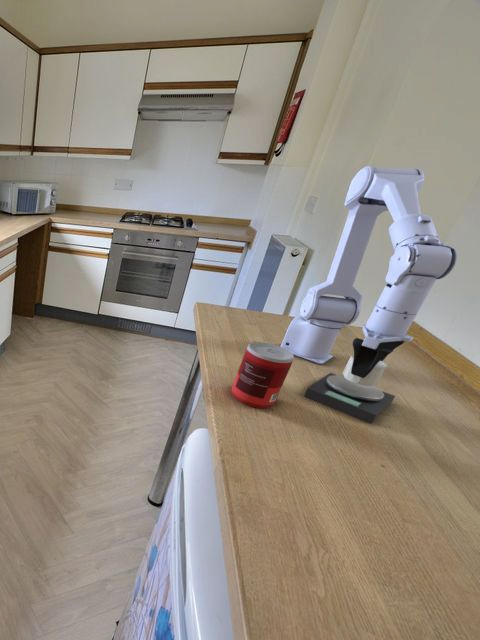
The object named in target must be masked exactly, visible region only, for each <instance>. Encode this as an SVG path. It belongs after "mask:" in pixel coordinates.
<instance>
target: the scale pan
mask: <svg viewBox="0 0 480 640" xmlns="http://www.w3.org/2000/svg"><path fill="white" fill-rule="evenodd" d="M326 382H327V384H328V385H329V386H331V387H332V388H334V389H335V390H337V391H339V392H341V393H343V394H346V395H349V396H352V397H355V398H359V399H363V400H369V401H379V400H382V399H383V397H384V393H383V392H384V391H383V392H382V390H381V389H380V388H378V387H377V386H375V385H373V386H364V385H359V384H356V383H353V382H351V381H349V380H347V379H346V378H345V377H344V375H340V374H339V375H337V374H335V375H333V376H329V377H328V378H327V380H326Z"/></svg>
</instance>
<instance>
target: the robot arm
mask: <svg viewBox="0 0 480 640" xmlns="http://www.w3.org/2000/svg"><path fill="white" fill-rule="evenodd" d="M425 179H426V177H425V173H424V171H423V169H421V168H398V167H397V168H396V167H379V166H378V167H377V166H376V167H375V166H371V165H366V166H364V167H363V168H361V169H360V170H359V171H358V172H357V173H356V174H355V176H354V177H353V178H352V179H351V181H350V185H349V188H348V190H347V194H346V197H345V199H344V200H345V202H344V204H343V206H344V207H345V208H346V209H347V210H349V211H348V214H347V218H346V220H345V223H344V227H343V230H342V233H341V236H340V239H339V242H338V245H337V248H336V250H335V254H334V256H333V259H332V263H331V266H330V269H329V273H328V275H327V278H326V280H325V281H324V282H322V283H319V284H317V285H314V286H311V287H310V288H309V289H308V290H307V292H306V295H305V297H304V298H303V300H302V302H301V304H300V307H299V314H300V315H296V316H294V318H293V319H292V320H291V322H290V324H289V325H288V327H287V329H286V331H285V335H284V337H283V339H282V342H281V344H280V345H279V347H282V348H284V349H286V350H288V351H290V352H291V353H292V354H293V355H294V356H296V357H299V358H301V359H305V360H308V361H310V362H313V363H316V364H318V365H324V364H325V363H326V362H328V361H330V360H331V359H332V358H333V357H334V355H332V354H330V352H332V349H333V346H334V344H335V342H336V340H337V338H338V336H339V334H340V332H341V330H342V329H346V328H347V326H350V325H352V324H353V323H354V322H356V321H357V320H358V318H359V317H360V314H361V309H362V307H361V305H362V299H363V294H362V293H361V292H360V291H359V290H358V289H357V288H356V287H355V286H354V284H355V281H356V278H357V276H358V273H359V270H360V267H361V264H362V262H363V259H364V256H365V252H366V250H367V247H368V244H369V242H370V239H371V236H372V233H373V230H374V227H375V224H376V221H377V219H378V216H380V215H381V214H382V213H385V212H389V213H390V216H391V218H392V220H393V222H392V223H391V224H390V226H389V228H388V235H389V238H390V241H391V245H392V248H393V252H394V253H393V255H391V256H390V259H389V263H388V271H387V274H386V275H385V280H384V281H385V282H386V284H385V286H384V288H383V290H382V292H381V293H380V295H379V298H378V300H377V302H376V304H375V305H374V308H373V309H372V312H371V313H370V316H369V318H368V320H367V322H366V323H365V324H364V325H363V327H362V328H361V329H362V332H363V334H364V339H362V338H359V337H356V338H354V339H353V341H352V348H353V355H354V359H353V364H352V369H351V374H353V375H356V376H359V377H361V378H365V377H366V376H367V375H368V374H369V373H370V372H371V371H372V369H373V368H374V367H375V366H376V364H377V363H378V362H379V361H382V362H384V360H385V359H386V358H387V357H388V356H389V355H390V354H391V353H393V352H394V350H395V349H397V348H398V347H400V346H402V345H403V344H404V343H405V342H406V343H411V342H412V341H413V340H414V336H411V335H408V334H407V333H408V331H409V329H410V327H411V326H412V323H413V322H414V320H415V319H416V317H417V315H418V313H419V311H420V309H421V307H422V306H423V304H424V302H425V300H426V299H427V297H428V295H429V293H430V292H431V290H432V289H433V286H434V284H435V283H436V281H437V280H441V279H444V278H445V277H447V276H448V275H449V274H450V273H451V272H452V271H453V270H454V268H455V266H456V263H457V259H458V254H457V249H456V247H454V246H452V245H448V244H447V243H446V242H441V240H440V237H439V234H438V232H437V229H436V227H435V223H434V220H433V218H432V216H430V215H428V214H424V213H422V211H421V204H420V199H419V192H420V191H421V189H422V187H423V185H424V182H425ZM329 295H330V296H329ZM336 296H339V297H336Z"/></svg>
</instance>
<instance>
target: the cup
mask: <svg viewBox="0 0 480 640" xmlns="http://www.w3.org/2000/svg"><path fill="white" fill-rule="evenodd" d="M353 359H354V354H352V355H351V356H350V357H349V359H348V361H347V363H346V365H345V367H344V368H343V371H342V376H344V377H345V378H346V379H347V380H349V381H351V382H353V383H356V384H359V385H364V386H375V385H377V384H378V383H379V381H380V380H381V378H382V376H383V374H384V372H385V371H386V369H387V368H388V364H387V363H386V362H385V361H379V362H378V363H377V364H376V366H375V367H374V368H373V369H372V371H371V372H370V373H369V374H368V375H367V376H366V377H365V378H361V377H359V376H356V375H353V374H351V369H352V364H353Z"/></svg>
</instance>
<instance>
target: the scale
mask: <svg viewBox="0 0 480 640" xmlns="http://www.w3.org/2000/svg"><path fill="white" fill-rule="evenodd" d="M333 375H336V373H333V372H329V373H328V374H326V375H325V376H323V377H322V378H319V379H318V380H317V381H315V382H314V383H313V384H311V385H310V386H309V387H307V389H306V390H305V392H304V395H303V397H305V398H308V399H309V400H312V401H314V402H317V403H320V404H322V405H324V406H327V407H328V408H332V409H334V410H337V411H339V412H341V413H344V414H347V415H349V416H351V417H354V418H356V419H359V420H360V421H364V422H366V423H368V424H372V423H374V422H375V420H377V419H378V417H380V416H381V415H382V414H383V412H384V411H386V410H387V409H388V407H390V406H391V405H392V403H393V401H394V400H395V398H396V395H394V394H391V393H388V392H385V391H382V390H381V391H382V392H383V393H384V397H383V399H382V400H379V401H369V400H363V399H359V398H355V397H352V396H349V395H346V394H343V393H341V392H339V391H337V390H335V389H334V388H332V387H331V386H329V385H328V384H327V382H326V380H327V378H328V377H329V376H333Z"/></svg>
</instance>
